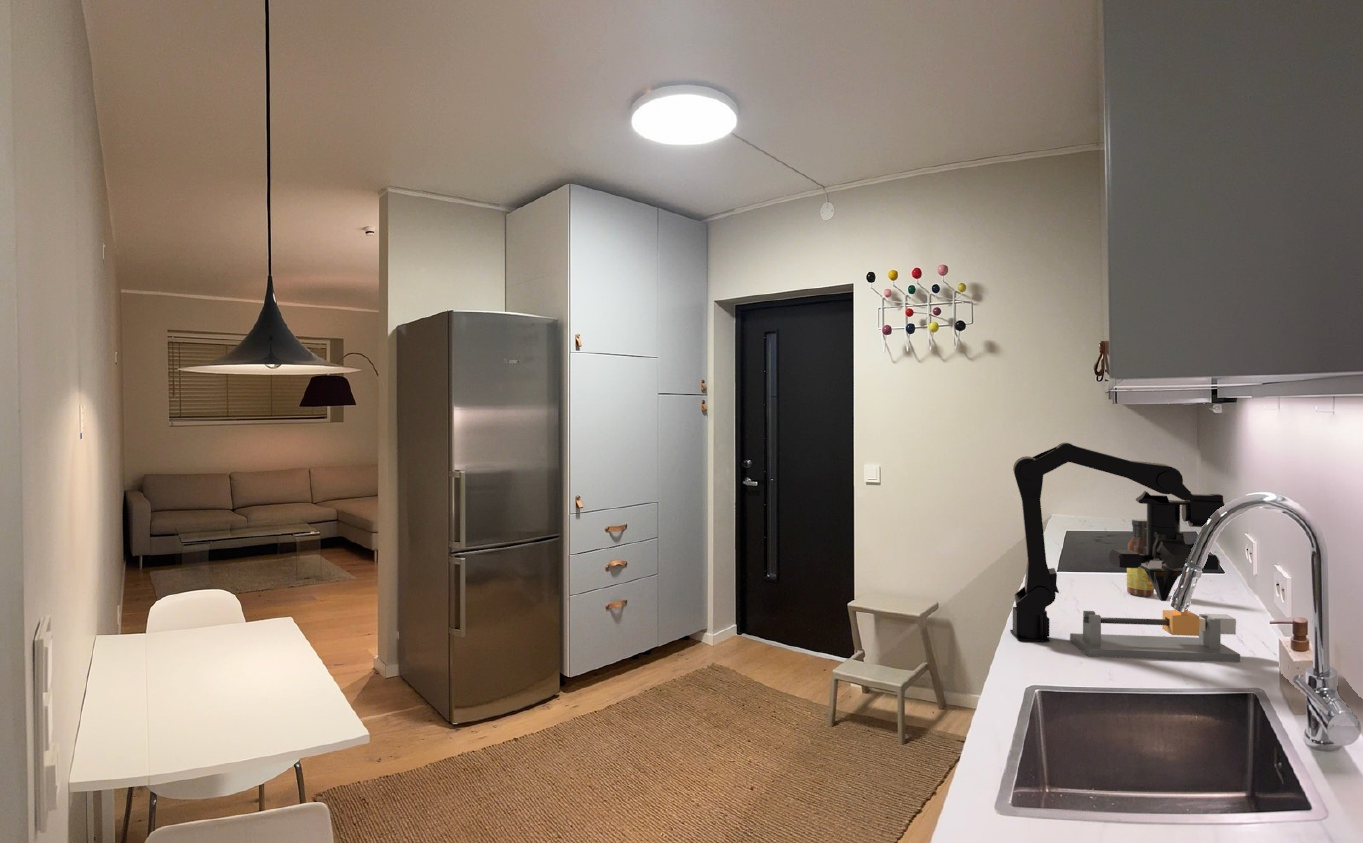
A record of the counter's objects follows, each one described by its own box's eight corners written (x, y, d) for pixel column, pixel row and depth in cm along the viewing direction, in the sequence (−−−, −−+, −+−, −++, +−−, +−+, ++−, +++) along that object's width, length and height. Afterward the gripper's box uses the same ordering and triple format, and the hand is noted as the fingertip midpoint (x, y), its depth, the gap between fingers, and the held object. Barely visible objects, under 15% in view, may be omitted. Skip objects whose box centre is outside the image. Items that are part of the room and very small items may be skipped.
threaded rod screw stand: (1088, 656, 149) (1088, 619, 149) (1070, 640, 159) (1070, 605, 158) (1245, 662, 144) (1246, 624, 144) (1216, 645, 154) (1217, 609, 154)
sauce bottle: (1153, 598, 190) (1153, 522, 189) (1125, 595, 194) (1125, 520, 193) (1155, 593, 195) (1155, 519, 195) (1128, 589, 199) (1128, 517, 198)
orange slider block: (1172, 635, 149) (1172, 593, 149) (1162, 629, 153) (1162, 588, 153) (1199, 636, 148) (1199, 594, 148) (1188, 629, 152) (1188, 589, 152)
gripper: (1132, 532, 144) (1131, 610, 144) (1236, 533, 141) (1236, 613, 142) (1108, 522, 155) (1107, 595, 155) (1204, 523, 152) (1203, 598, 153)
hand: (1162, 600), depth 151 cm, fingers closed
